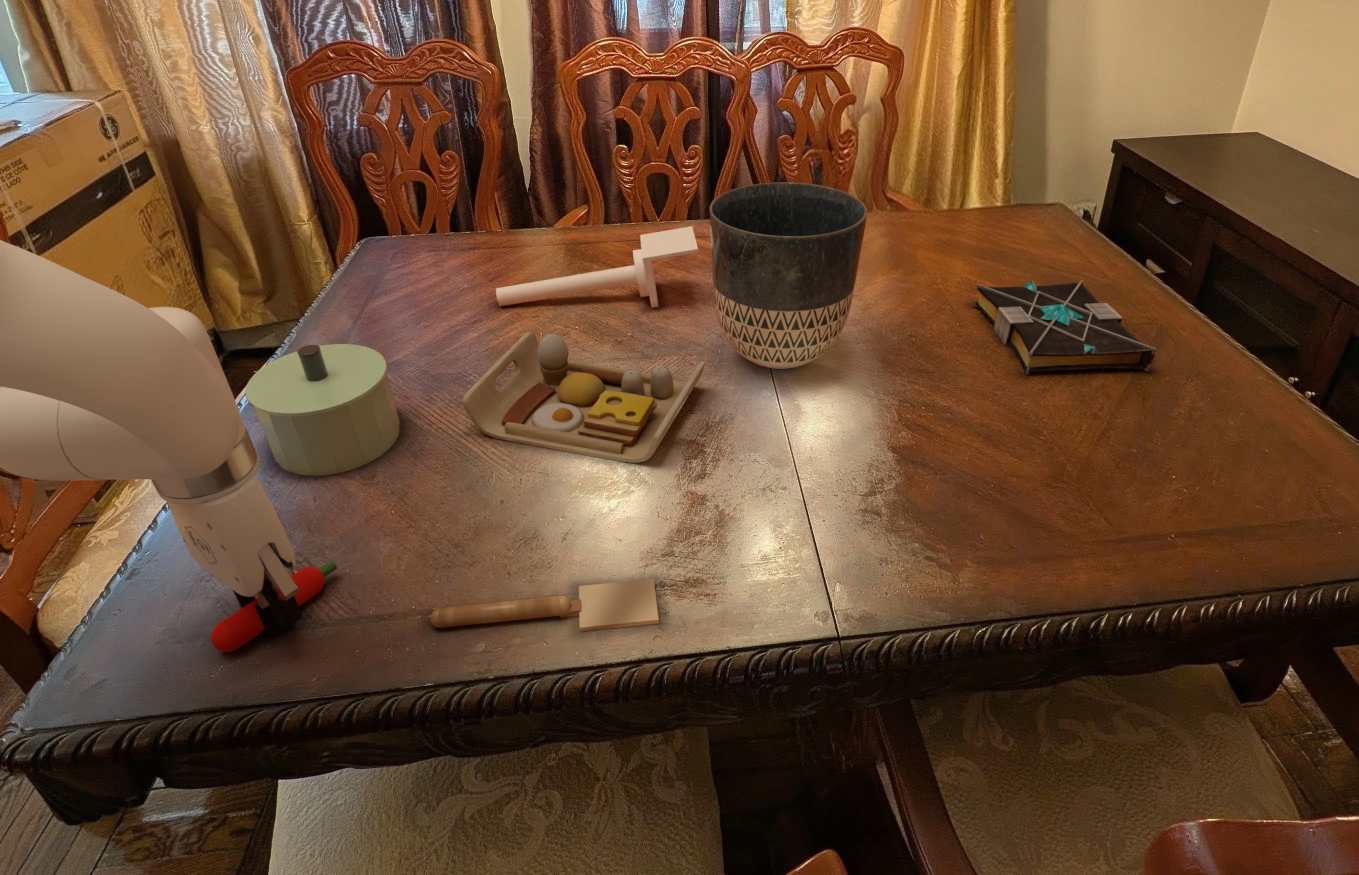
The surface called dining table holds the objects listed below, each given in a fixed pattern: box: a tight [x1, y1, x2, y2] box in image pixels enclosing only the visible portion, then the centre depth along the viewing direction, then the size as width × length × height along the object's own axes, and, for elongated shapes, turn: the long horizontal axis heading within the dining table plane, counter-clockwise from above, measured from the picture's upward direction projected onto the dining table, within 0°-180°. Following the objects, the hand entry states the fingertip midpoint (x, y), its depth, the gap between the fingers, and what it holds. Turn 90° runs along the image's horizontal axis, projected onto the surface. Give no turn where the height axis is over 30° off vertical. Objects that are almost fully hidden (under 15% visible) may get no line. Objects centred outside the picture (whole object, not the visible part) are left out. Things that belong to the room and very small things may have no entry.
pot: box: [254, 373, 401, 477], centre depth 96 cm, size 15×15×8 cm
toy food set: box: [461, 331, 707, 464], centre depth 100 cm, size 25×18×8 cm
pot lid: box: [245, 343, 388, 417], centre depth 92 cm, size 15×15×5 cm
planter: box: [708, 181, 868, 370], centre depth 106 cm, size 20×20×21 cm
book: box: [972, 279, 1157, 376], centre depth 114 cm, size 22×17×5 cm
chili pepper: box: [210, 560, 338, 653], centre depth 74 cm, size 12×3×3 cm, turn 145°
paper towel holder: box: [495, 225, 699, 309], centre depth 126 cm, size 9×9×32 cm
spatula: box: [429, 578, 660, 633], centre depth 74 cm, size 21×5×2 cm, turn 97°
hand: (274, 616), depth 74 cm, fingers closed on chili pepper, 2 cm apart
